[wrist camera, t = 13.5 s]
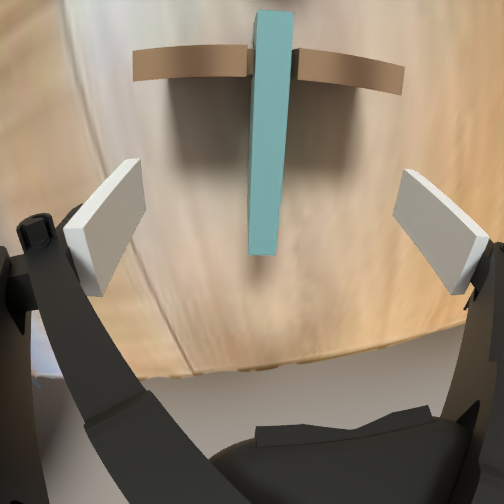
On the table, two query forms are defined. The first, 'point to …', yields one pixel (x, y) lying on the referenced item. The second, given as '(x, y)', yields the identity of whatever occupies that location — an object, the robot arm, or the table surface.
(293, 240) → the table surface
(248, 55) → the walnut plate
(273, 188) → the teal plate
